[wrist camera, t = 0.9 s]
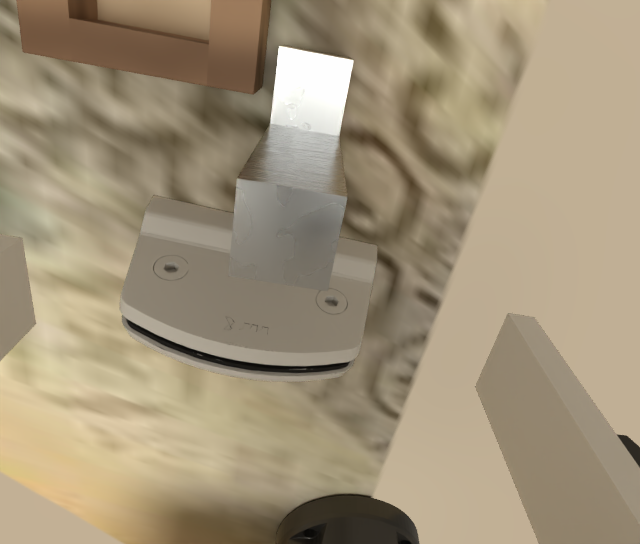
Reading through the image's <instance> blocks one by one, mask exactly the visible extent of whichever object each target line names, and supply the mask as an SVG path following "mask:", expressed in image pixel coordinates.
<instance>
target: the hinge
mask: <svg viewBox="0 0 640 544" xmlns="http://www.w3.org/2000/svg"><path fill="white" fill-rule="evenodd" d="M233 218H234V213H231V212H226V211H222V210H217V209H213V208H208V207H204V206H200V205H195V204H191V203H186V202H182V201H177V200H173V199H168V198H164V197H159V196H155V195H153V197H152V199H151V201H150V203H149V205H148V206H147V208H146V211H145V215H144V219H143V223H142V227H141V231H140V235H139V238H138V241H137V245H136V248H135V251H134V254H133V257H132V260H131V263H130V267H129V270H128V273H127V276H126V279H125V282H124V286H123V289H122V292H121V298H120V311H121V313H122V323H123V325H124V327H125V329H126V330H127V332H128V333H129V335H130V336H131V337H132V338H133V339H135V340H137V341H138V342H140V343H142V344H144V345H145V346H147V347H149V348H151V349H153V350H155V351H157V352H159V353H161V354H163V355H165V356H167V357H170V358H172V359H175V360H177V361H179V362H182V363H185V364H188V365H191V366H194V367H197V368H199V369H203V370H207V371H210V372H214V373H218V374H222V375H227V376H232V377H238V378H244V379H250V380H260V381H273V382H304V381H316V380H324V379H331V378H337V377H340V376H342V375H343V374H344V373H345V372H347V371H348V370H349V369H350V368H351V367H352V366H353V364H354V361H355V358H356V357H357V356H358V354H359V352H360V347H361V343H362V338H363V333H364V328H365V323H366V317H367V312H368V307H369V301H370V296H371V291H372V285H373V280H374V275H375V269H376V264H377V245H374V244H369V243H365V242H360V241H356V240H351V239H347V238H342V237H339V240H338V245H337V250H336V254H335V259H334V264H333V269H332V274H331V278H330V283H329V288H328V291H323V290H316V289H310V288H303V287H297V286H290V285H284V284H277V283H271V282H264V281H258V280H251V279H245V278H238V277H232V276H228V275H229V263H230V252H231V241H232V229H233Z"/></svg>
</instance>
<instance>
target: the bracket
mask: <svg viewBox="0 0 640 544" xmlns="http://www.w3.org/2000/svg"><path fill="white" fill-rule="evenodd" d="M352 65H353V60H352V59H351V58H349V57H344V56H339V55H333V54H328V53H323V52H318V51H313V50H307V49H302V48H297V47H292V46H286V45H282V46H279V53H278V61H277V70H276V78H275V87H274V96H273V104H272V113H271V121H270V125H269V126H268V128H267V130H266V131H265V133H264V135H263V136H262V138H261V140H260V141H259V143H258V145H257V146H256V148H255V150H254V151H253V153H252V154H251V156H250V158H249V159H248V161H247V163H246V164H245V166H244V168H243V169H242V171H241V173H240V174H239V176H238V178H237V184H236V196H235V207H234V218H233V229H232V241H231V252H230V263H229V275H228V276H232V277H238V278H245V279H251V280H258V281H264V282H271V283H277V284H284V285H290V286H297V287H303V288H310V289H316V290H323V291H328V288H329V283H330V278H331V274H332V269H333V264H334V259H335V254H336V250H337V245H338V240H339V235H340V230H341V226H342V221H343V216H344V211H345V207H346V202H347V190H346V182H345V175H344V168H343V160H342V153H341V145H340V138H339V134H340V129H341V124H342V118H343V113H344V108H345V102H346V97H347V92H348V86H349V81H350V76H351V70H352Z"/></svg>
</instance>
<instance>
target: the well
mask: <svg viewBox="0 0 640 544" xmlns="http://www.w3.org/2000/svg"><path fill="white" fill-rule="evenodd" d="M270 7H271V0H17V8H18V16H19V25H20V33H21V41H22V49H23V52H24V53H30V54H35V55H41V56H46V57H51V58H57V59H62V60H68V61H73V62H79V63H84V64H90V65H95V66H101V67H106V68H112V69H117V70H122V71H128V72H133V73H139V74H144V75H150V76H155V77H161V78H166V79H172V80H177V81H183V82H188V83H193V84H199V85H204V86H210V87H215V88H221V89H226V90H232V91H237V92H243V93H248V94H255V93H256V92H257V91H258V90H259V89H260V88H261V87H262V83H263V74H264V64H265V55H266V45H267V36H268V26H269V17H270Z"/></svg>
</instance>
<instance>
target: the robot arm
mask: <svg viewBox="0 0 640 544" xmlns="http://www.w3.org/2000/svg"><path fill="white" fill-rule="evenodd" d="M35 324H36V321H35V315H34V308H33V302H32V296H31V290H30V283H29V277H28V271H27V265H26V258H25V252H24V246H23V240H22V238H21V237H14V236H8V235H2V234H0V361H1V360H2V359H3V357H4V356H5V355H6V354H7V353H8V352H9V351H10V350H11V349H12V348H13V347H14V346H15V345H16V344H17V343H18V342H19V341H20V340H21V339H22V338H23V337H24V336H25V335H26V334H27V333H28V332H29V331H30V330H31V329H32V327H33V326H34V325H35ZM475 387H476V390H477V392H478V395H479V397H480V399H481V402H482V405H483V407H484V410H485V412H486V414H487V417H488V419H489V422H490V424H491V427H492V429H493V432H494V434H495V437H496V439H497V442H498V444H499V447H500V449H501V451H502V454H503V456H504V459H505V461H506V464H507V466H508V469H509V471H510V474H511V476H512V479H513V481H514V484H515V486H516V488H517V491H518V493H519V496H520V498H521V501H522V503H523V506H524V508H525V511H526V513H527V516H528V518H529V520H530V523H531V525H532V528H533V530H534V533H535V535H536V538H537V540H538V543H539V544H640V447H639V446H638V445H637V444H635V443H634V442H633V441H632V440H631V439H630V438H629V437H628V436H624V435H617V434H616V433H615V432H614V430H613V429H612V427H611V426H610V425H609V423H608V422H607V420H606V419H605V418H604V416H603V415H602V413H601V412H600V410H599V409H598V407H597V406H596V405H595V403H594V402H593V400H592V399H591V397H590V396H589V395H588V393H587V392H586V390H585V389H584V387H583V386H582V385H581V383H580V382H579V380H578V379H577V377H576V376H575V375H574V373H573V372H572V370H571V369H570V367H569V366H568V365H567V363H566V362H565V360H564V359H563V357H562V356H561V355H560V353H559V352H558V350H557V349H556V348H555V346H554V345H553V343H552V342H551V340H550V339H549V338H548V336H547V335H546V333H545V332H544V330H543V329H542V327H541V326H540V325H539V324H538V322H537V321H536V319H535V318H534V317H529V316H524V315H516V314H510V313H508V314H507V317H506V319H505V321H504V323H503V326H502V328H501V330H500V332H499V334H498V337H497V339H496V341H495V343H494V346H493V348H492V350H491V352H490V355H489V357H488V359H487V361H486V364H485V366H484V368H483V370H482V373H481V375H480V377H479V379H478V381H477V384H476V386H475ZM276 544H419V539H418V534H417V530H416V527H415V525H414V523H413V522H412V521H411V519H410V518H409V517H408V516H407V515H406V514H405V513H404V512H403V511H401V510H400V509H398V508H397V507H395V506H393V505H391V504H389V503H386V502H383V501H380V500H377V499H373V498H369V497H362V496H333V497H327V498H322V499H318V500H315V501H312V502H309V503H307V504H305V505H303V506H301V507H299V508H297V509H296V510H294V511H293V512H291V513H290V514H289V515H288V516H287V517H286V518H285V519H284V520H283V522H282V523H281V525H280V526H279V529H278V531H277V536H276Z"/></svg>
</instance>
